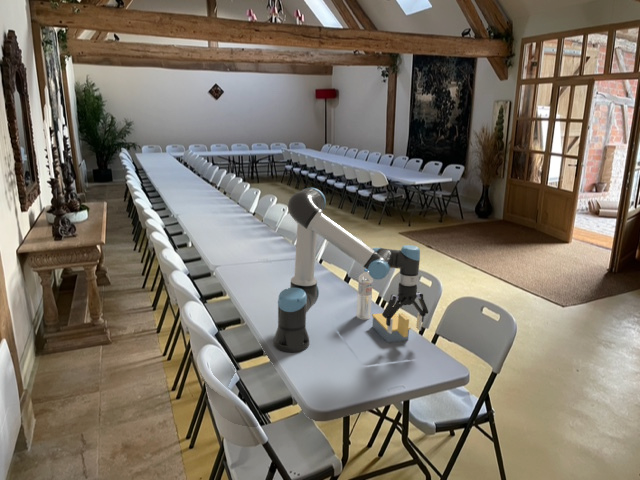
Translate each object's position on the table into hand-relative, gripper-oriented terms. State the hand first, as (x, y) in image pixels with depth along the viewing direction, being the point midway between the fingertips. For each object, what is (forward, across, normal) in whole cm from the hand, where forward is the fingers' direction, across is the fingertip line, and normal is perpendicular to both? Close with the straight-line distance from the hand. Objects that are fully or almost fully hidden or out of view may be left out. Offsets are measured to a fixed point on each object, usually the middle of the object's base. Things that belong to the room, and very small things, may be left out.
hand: (404, 330), depth 199 cm
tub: (+8, 0, +13) cm, 15 cm away
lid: (+2, 0, +10) cm, 10 cm away
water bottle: (+8, -5, +32) cm, 33 cm away
